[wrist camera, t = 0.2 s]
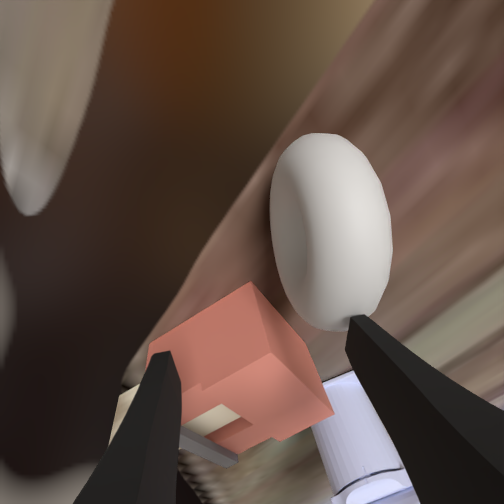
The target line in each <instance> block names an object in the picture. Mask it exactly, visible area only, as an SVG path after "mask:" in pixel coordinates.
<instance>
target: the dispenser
mask: <svg viewBox="0 0 504 504" xmlns="http://www.w3.org/2000/svg"><path fill="white" fill-rule="evenodd" d="M164 351H171V354H172V357H173V360H174V363H175V366H176V369H177V371H178V374H179V377H180V380H181V389H182V416H181V429H180V441H179V447H180V448H182V449H184V450H187V451H189V452H191V453H193V454H195V455H198V456H200V457H202V458H204V459H206V460H209V461H211V462H213V463H215V464H218V465H220V466H222V467H224V468H228V467H230V466H232V465H234V464H236V463H238V455H237V454H239V453H241V452H243V451H245V450H247V449H249V448H251V447H253V446H255V445H257V444H259V443H261V442H263V441H265V440H267V439H269V438H271V437H273V438H275V439H276V440H278V441H279V442H280V441H282V440H284V439H286V438H288V437H290V436H292V435H294V434H296V433H298V432H300V431H302V430H304V429H306V428H308V427H310V426H312V425H314V424H316V423H318V422H320V421H322V420H324V419H326V418H328V417H330V416H332V415H334V414H335V413H334V411H333V408H332V406H331V404H330V401H329V399H328V396H327V394H326V392H325V389H324V387H323V384H322V382H321V380H320V377H319V375H318V372H317V370H316V368H315V365H314V363H313V360H312V358H311V356H310V353H309V351H308V348H307V346H306V344H305V343H304V341H303V340H302V339H301V338H300V337H299V336H298V335H297V333H296V332H295V331H294V330H293V329H292V328H291V326H290V325H289V324H288V323H287V322H286V321H285V320H284V318H283V317H282V316H281V315H280V314H279V313H278V311H277V310H276V309H275V308H274V307H273V306H272V305H271V303H270V302H269V301H268V300H267V299H266V298H265V296H264V295H263V294H262V293H261V292H260V291H259V290H258V288H257V287H256V286H255V285H254V284H253V283H252V282H251V281H250V282H248V283H246V284H245V285H243V286H241V287H240V288H238V289H237V290H235V291H233V292H232V293H230V294H229V295H227V296H225V297H224V298H222V299H221V300H219V301H217V302H216V303H214V304H212V305H211V306H209V307H208V308H206V309H204V310H203V311H201V312H200V313H198V314H196V315H195V316H193V317H191V318H190V319H188V320H187V321H185V322H183V323H182V324H180V325H179V326H177V327H175V328H174V329H172V330H170V331H169V332H167V333H166V334H164V335H162V336H161V337H159V338H158V339H156V340H154V341H153V342H151V343H150V344H149V350H148V357H147V363H146V369H147V367H148V364H149V362H150V359H151V356H152V355H153V354H154V353H159V352H164ZM145 371H146V370H145ZM220 404H223V405H224V406H226V407H227V408H229V409H230V410H232V411H233V412H235V413H236V414H238V415H239V416H241V417H239V418H238V419H236V420H234V421H232V422H230V423H228V424H226V425H224V426H223V427H221V428H219V429H217V430H215V431H213V432H211V433H209V434H207V435H206V436H204V437H203V436H201V435H199V434H197V433H195V432H193V431H191V430H189V429H187V428H185V427H184V426H182V425H183V424H185V423H187V422H189V421H191V420H192V419H194V418H196V417H198V416H200V415H202V414H203V413H205V412H207V411H209V410H211V409H213V408H214V407H216V406H218V405H220Z"/></svg>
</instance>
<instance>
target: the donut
mask: <svg viewBox="0 0 504 504" xmlns="http://www.w3.org/2000/svg"><path fill="white" fill-rule="evenodd" d="M270 226H271V235H272V243H273V250H274V255H275V260H276V265H277V269H278V272H279V276H280V280H281V283H282V285H283V288H284V291H285V293H286V296H287V297H288V299H289V301H290V303H291V304H292V306H293V308H294V309H295V311H296V312H297V314H299V315H300V316H301V317H302V318H303V319H304V320H305V321H306V322H307V323H309V324H310V325H311V326H313V327H315V328H318V329H321V330H327V331H347V330H348V328H349V322H350V317H352V316H357V315H362V314H365V315H366V316H370V315H371V314H372V313H373V312H374V311H375V310H376V308H377V305H378V303H379V301H380V299H381V297H382V294H383V292H384V290H385V288H386V285H387V283H388V281H389V274H390V267H391V260H392V252H393V246H392V233H391V219H390V213H389V209H388V206H387V202H386V199H385V195H384V192H383V188H382V184H381V182H380V180H379V179H378V177H377V175H376V173H375V172H374V170H373V168H372V166H371V165H370V163H369V161H368V159H367V158H366V157H365V155H364V154H363V153H362V152H361V151H360V150H359V149H357V148H356V147H355V146H354V145H353V144H351V143H350V142H349V141H348V140H346V139H345V138H343V137H341V136H339V135H335V134H321V133H312V134H308V135H304V136H302V137H300V138H299V139H297V140H296V141H294V142H293V143H292V144H291V145H290V146H289V147H288V148H287V149H286V150H285V151H284V152H283V154H282V155H281V156H280V158H279V161H278V163H277V166H276V169H275V172H274V175H273V178H272V185H271V191H270Z"/></svg>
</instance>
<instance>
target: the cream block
mask: <svg viewBox="0 0 504 504" xmlns="http://www.w3.org/2000/svg"><path fill="white" fill-rule="evenodd" d="M139 385H140V384H138V385H137V386H135V387H133V388H132V389H130V390H128V391H127V392H125V393H123V394H122V395H120V396H119V400H118V405H117V409H116V414H115V419H114V423H113V428H112V432H111V437H110V442H109V444H110V443H111V441H112V439H113V437H114V435H115V433H116V432H117V430H118V428H119V426H120V424H121V422H122V420H123V418H124V417H125V415H126V413H127V411H128V408H129V406H130V404H131V402H132V400H133V398H134V396H135V394H136V392H137V390H138V387H139ZM239 417H241V416H239V415H238V414H236V413H235V412H233V411H232V410H230V409H229V408H227V407H226V406H224V405H223V404H220V405H218V406H216V407H214V408H213V409H211V410H209V411H207V412H205V413H203V414H202V415H200V416H198V417H196V418H194V419H192V420H191V421H189V422H187V423H185V424H183V425H182V426H184V427H185V428H187V429H189V430H191V431H193V432H195V433H197V434H199V435H201V436H203V437H204V436H206V435H207V434H209V433H211V432H213V431H215V430H217V429H219V428H221V427H223V426H224V425H226V424H228V423H230V422H232V421H234V420H236V419H238V418H239ZM179 449H181V448H180V447H179Z"/></svg>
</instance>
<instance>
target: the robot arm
mask: <svg viewBox="0 0 504 504" xmlns="http://www.w3.org/2000/svg"><path fill="white" fill-rule="evenodd" d="M345 351H346V354H347V356H348V359H349V361H350V363H351V366H352V368H353V371H350V372H348V373H345V374H343V375H341V376H338V377H336V378H333V379H331V380H328V381H326V382H323V383H322V384H323V387H324V389H325V392H326V394H327V396H328V399H329V401H330V404H331V406H332V408H333V411H334V413H335V414H334V415H332V416H330V417H328V418H326V419H324V420H322V421H320V422H318V423H316V424H314V425H312V426H311V429H312V432H313V435H314V438H315V441H316V444H317V446H318V449H319V452H320V455H321V458H322V461H323V464H324V467H325V470H326V473H327V476H328V479H329V482H330V485H331V488H332V491H333V494H334V497H331V502H332V504H504V411H503V410H501V409H499V408H498V407H496V406H494V405H492V404H490V403H489V402H487V401H485V400H483V399H482V398H480V397H478V396H477V395H475V394H473V393H472V392H470V391H469V390H467V389H465V388H464V387H462V386H461V385H459V384H457V383H456V382H454V381H453V380H451V379H450V378H448V377H447V376H445V375H444V374H442V373H441V372H439V371H438V370H436V369H435V368H434V367H432V366H431V365H429V364H428V363H426V362H425V361H424V360H422V359H421V358H420V357H418V356H417V355H416V354H414V353H413V352H412V351H410V350H409V349H408V348H406V347H405V346H404V345H402V344H401V343H400V342H399V341H397V340H396V339H395V338H394V337H392V336H391V335H390V334H389V333H387V332H386V331H385V330H384V329H382V328H381V327H380V326H379V325H377V324H376V323H375V322H374V321H373V320H371V319H370V318H369V317H368V316H366V315H365V314H362V315H357V316H352V317H350V322H349V328H348V334H347V340H346V347H345ZM372 405H373V406H372ZM375 410H376V411H375ZM376 412H377V413H376ZM377 414H378V415H377ZM181 416H182V389H181V380H180V377H179V374H178V371H177V369H176V366H175V363H174V360H173V357H172V354H171V351H164V352H159V353H154V354H153V355H152V356H151V359H150V362H149V364H148V367H147V369H146V371H145V374H144V376H143V378H142V381H141V383H140V385H139V387H138V390H137V392H136V394H135V396H134V398H133V400H132V402H131V404H130V406H129V408H128V411H127V413H126V415H125V417H124V418H123V420H122V422H121V424H120V426H119V428H118V430H117V432H116V433H115V435H114V437H113V439H112V441H111V443H110V444H109V446H108V448H107V450H106V451H105V453H104V455H103V457H102V458H101V460H100V462H99V463H98V465H97V467H96V468H95V470H94V472H93V473H92V475H91V476H90V478H89V480H88V481H87V483H86V484H85V486H84V487H83V489H82V490H81V492H80V493H79V495H78V496H77V498H76V499H75V501H74V503H73V504H176V498H175V497H176V476H177V465H178V453H179V441H180V429H181ZM378 416H379V417H380V418H379V417H378ZM380 419H381V420H380ZM381 421H382V422H381ZM382 423H383V424H384V426H385V428H386V430H387V431H386V430H385V428H384V426H383V424H382ZM387 432H388V433H387ZM388 434H389V435H390V437H391V439H392V441H393V443H394V444H393V443H392V441H391V439H390V437H389V435H388ZM394 445H395V446H394Z"/></svg>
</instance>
